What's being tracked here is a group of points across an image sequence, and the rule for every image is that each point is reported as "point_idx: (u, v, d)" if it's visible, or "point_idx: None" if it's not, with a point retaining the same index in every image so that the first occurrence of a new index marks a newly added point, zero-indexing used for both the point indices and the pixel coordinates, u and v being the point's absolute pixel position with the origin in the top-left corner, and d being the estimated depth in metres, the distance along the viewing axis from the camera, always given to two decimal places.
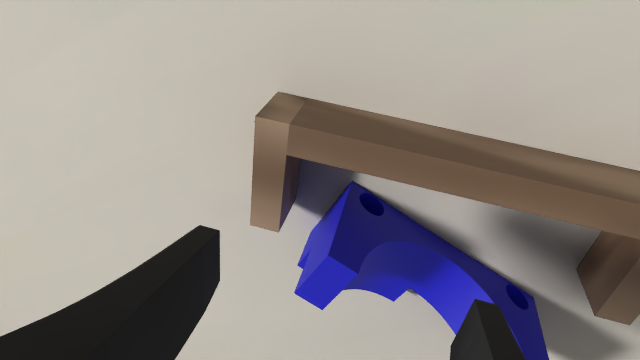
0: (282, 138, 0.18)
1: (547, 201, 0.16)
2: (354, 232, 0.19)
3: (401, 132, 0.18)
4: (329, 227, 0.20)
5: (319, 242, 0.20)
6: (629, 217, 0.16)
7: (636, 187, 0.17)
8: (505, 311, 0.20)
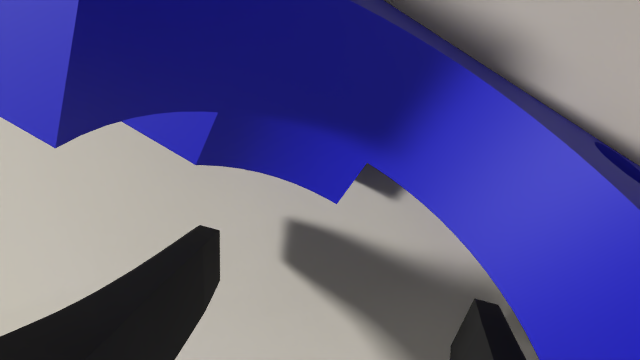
0: None
1: None
2: None
3: None
4: None
5: None
6: None
7: None
8: (613, 178, 0.08)
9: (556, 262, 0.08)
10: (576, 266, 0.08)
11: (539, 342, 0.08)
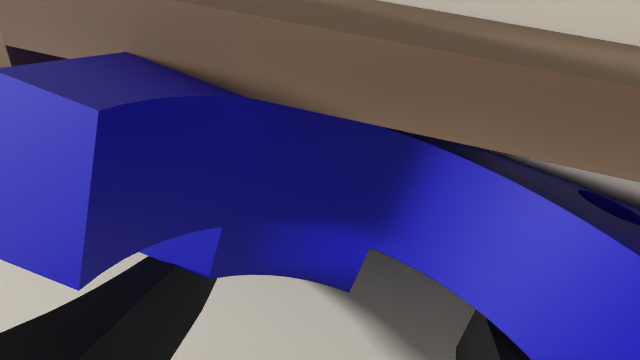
0: None
1: (568, 125, 0.07)
2: (150, 71, 0.07)
3: None
4: None
5: None
6: None
7: None
8: (599, 223, 0.08)
9: (571, 315, 0.08)
10: (590, 316, 0.08)
11: None
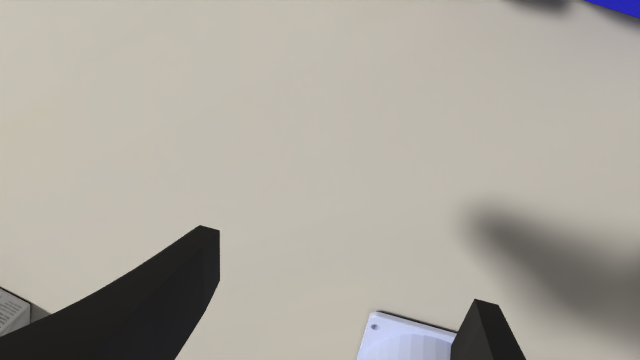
0: None
1: None
2: None
3: None
4: None
5: None
6: None
7: None
8: None
9: None
10: None
11: None
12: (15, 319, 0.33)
